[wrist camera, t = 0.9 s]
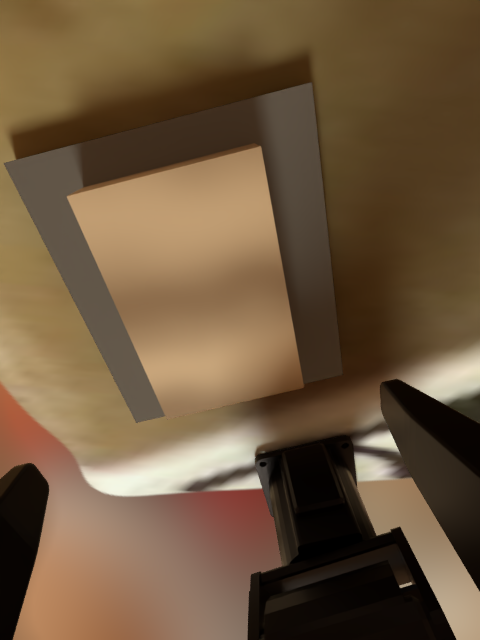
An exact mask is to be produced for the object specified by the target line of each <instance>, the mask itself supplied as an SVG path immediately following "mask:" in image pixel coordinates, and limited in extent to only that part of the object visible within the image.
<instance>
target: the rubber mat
mask: <svg viewBox="0 0 480 640" xmlns="http://www.w3.org/2000/svg"><path fill="white" fill-rule="evenodd" d="M253 143H255V144H257V145H259V146H261V149H262V154H263V160H264V165H265V171H266V177H267V182H268V188H269V193H270V199H271V205H272V210H273V216H274V221H275V227H276V233H277V238H278V244H279V249H280V255H281V261H282V266H283V272H284V277H285V283H286V289H287V294H288V300H289V305H290V311H291V317H292V322H293V328H294V333H295V339H296V345H297V350H298V356H299V361H300V367H301V373H302V378H303V384H306V383H310V382H314V381H318V380H323V379H327V378H331V377H336V376H340V375H343V369H342V360H341V350H340V341H339V331H338V322H337V313H336V303H335V294H334V285H333V275H332V266H331V256H330V247H329V238H328V228H327V219H326V209H325V200H324V191H323V181H322V172H321V163H320V153H319V144H318V134H317V125H316V116H315V106H314V97H313V87H312V82H310V83H307V84H303V85H299V86H295V87H291V88H288V89H284V90H280V91H276V92H272V93H268V94H265V95H261V96H257V97H253V98H249V99H246V100H242V101H238V102H234V103H230V104H227V105H223V106H219V107H215V108H211V109H208V110H204V111H200V112H196V113H192V114H189V115H185V116H181V117H177V118H173V119H170V120H166V121H162V122H158V123H154V124H151V125H147V126H143V127H139V128H135V129H132V130H128V131H124V132H120V133H116V134H113V135H109V136H105V137H101V138H97V139H94V140H90V141H86V142H82V143H78V144H75V145H71V146H67V147H63V148H59V149H56V150H52V151H48V152H44V153H40V154H37V155H33V156H29V157H25V158H21V159H18V160H14V161H10V162H6V163H4V165H5V167H6V169H7V171H8V173H9V175H10V177H11V179H12V180H13V182H14V184H15V186H16V188H17V190H18V192H19V194H20V196H21V198H22V200H23V202H24V204H25V206H26V208H27V210H28V212H29V214H30V216H31V218H32V220H33V222H34V224H35V225H36V227H37V229H38V231H39V233H40V235H41V237H42V239H43V241H44V243H45V245H46V247H47V249H48V251H49V253H50V255H51V257H52V259H53V261H54V263H55V265H56V267H57V269H58V271H59V272H60V274H61V276H62V278H63V280H64V282H65V284H66V286H67V288H68V290H69V292H70V294H71V296H72V298H73V300H74V302H75V304H76V306H77V308H78V310H79V312H80V314H81V316H82V317H83V319H84V321H85V323H86V325H87V327H88V329H89V331H90V333H91V335H92V337H93V339H94V341H95V343H96V345H97V347H98V349H99V351H100V353H101V355H102V357H103V359H104V361H105V362H106V364H107V366H108V368H109V370H110V372H111V374H112V376H113V378H114V380H115V382H116V384H117V386H118V388H119V390H120V392H121V394H122V396H123V398H124V400H125V402H126V404H127V406H128V407H129V409H130V411H131V413H132V415H133V417H134V419H135V421H136V423H138V422H142V421H146V420H151V419H155V418H159V417H164V416H165V414H164V412H163V410H162V408H161V405H160V403H159V401H158V399H157V396H156V394H155V392H154V390H153V388H152V385H151V383H150V381H149V379H148V376H147V374H146V372H145V370H144V368H143V365H142V363H141V361H140V359H139V356H138V354H137V352H136V350H135V348H134V345H133V343H132V341H131V339H130V336H129V334H128V332H127V330H126V328H125V325H124V323H123V321H122V319H121V316H120V314H119V312H118V310H117V308H116V305H115V303H114V301H113V299H112V296H111V294H110V292H109V290H108V288H107V285H106V283H105V281H104V279H103V276H102V274H101V272H100V270H99V268H98V265H97V263H96V261H95V259H94V256H93V254H92V252H91V250H90V248H89V245H88V243H87V241H86V239H85V236H84V234H83V232H82V230H81V228H80V225H79V223H78V221H77V219H76V216H75V214H74V212H73V210H72V208H71V205H70V203H69V201H68V199H67V196H68V195H70V194H72V193H74V192H76V191H77V190H79V189H81V188H83V187H86V186H90V185H94V184H98V183H102V182H106V181H110V180H114V179H117V178H121V177H125V176H129V175H133V174H137V173H141V172H144V171H148V170H152V169H156V168H160V167H164V166H168V165H172V164H175V163H179V162H183V161H187V160H191V159H195V158H199V157H203V156H206V155H210V154H214V153H218V152H222V151H226V150H230V149H234V148H237V147H241V146H245V145H249V144H253Z"/></svg>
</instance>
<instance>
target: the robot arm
mask: <svg viewBox="0 0 480 640" xmlns="http://www.w3.org/2000/svg"><path fill="white" fill-rule="evenodd" d="M380 398H381V410H382V414H383V416H384V419H385V421H386V423H387V425H388V427H389V430H390V432H391V434H392V436H393V438H394V441H395V443H396V445H397V447H398V449H399V452H400V454H401V456H402V458H403V460H404V463H405V465H406V467H407V469H408V471H409V473H410V475H411V476H412V478H413V480H414V482H415V484H416V485H417V487H418V489H419V490H420V492H421V494H422V495H423V497H424V499H425V500H426V502H427V504H428V505H429V507H430V509H431V510H432V512H433V514H434V515H435V517H436V519H437V521H438V522H439V524H440V526H441V527H442V529H443V530H444V532H445V534H446V536H447V537H448V539H449V541H450V542H451V544H452V546H453V547H454V549H455V551H456V552H457V554H458V556H459V557H460V559H461V561H462V563H463V564H464V566H465V567H466V569H467V571H468V573H469V574H470V576H471V578H472V579H473V581H474V583H475V584H476V586H477V588H478V589H479V591H480V423H478V422H476V421H474V420H473V419H471V418H469V417H467V416H465V415H463V414H461V413H460V412H458V411H456V410H454V409H452V408H450V407H449V406H447V405H445V404H443V403H441V402H439V401H438V400H436V399H434V398H432V397H430V396H428V395H426V394H425V393H423V392H421V391H419V390H417V389H415V388H414V387H412V386H410V385H408V384H406V383H404V382H402V381H401V380H398V379H394V380H389V381H385V382H382V383H381V385H380ZM255 465H256V469H257V472H258V475H259V478H260V482H261V485H262V488H263V491H264V494H265V498H266V501H267V504H268V507H269V511H270V514H271V516H272V517H274V521H275V527H276V532H277V539H278V545H279V550H280V556H281V561H282V567H279V568H276V569H272V570H269V571H266V572H263V573H261V572H257V573H254V574H251V584H250V591H249V611H248V640H456V638H455V636H454V633H453V631H452V629H451V627H450V625H449V623H448V621H447V619H446V617H445V615H444V612H443V611H442V608H441V606H440V605H439V603H438V601H437V598H436V596H435V594H434V592H433V591H432V589H431V587H430V585H429V583H428V581H427V579H426V577H425V575H424V573H423V571H422V569H421V567H420V565H419V563H418V561H417V559H416V557H415V555H414V553H413V551H412V549H411V547H410V545H409V543H408V541H407V540H406V538H405V536H404V534H403V532H402V530H401V528H400V527H397V528H393V529H391V532H388V533H384V534H381V535H378V536H376V533H375V531H374V528H373V526H372V523H371V521H370V519H369V516H368V514H367V511H366V509H365V506H364V504H363V502H362V499H361V497H360V494H359V492H358V489H357V481H356V471H355V461H354V452H353V444H352V441H351V439H350V437H348V436H340V437H335V438H331V439H327V440H322V441H318V442H313V443H309V444H304V445H300V446H296V447H291V448H287V449H282V450H278V451H273V452H269V453H265V454H260V455H258V456H257V457H256V458H255ZM48 495H49V485H48V482H47V481H46V479H45V478H44V477H43V475H42V474H41V473H40V471H39V470H38V469H37V467H36V466H35V465H34V464H32V463H27V464H22V465H18V466H15V467H14V468H12V469H11V470H10V471H9V472H8V473H6V475H4V476H3V477H2V478H1V479H0V640H13V637H14V633H15V630H16V626H17V623H18V619H19V616H20V612H21V608H22V605H23V602H24V598H25V595H26V591H27V588H28V584H29V581H30V577H31V574H32V571H33V567H34V564H35V560H36V556H37V552H38V547H39V542H40V537H41V532H42V527H43V521H44V516H45V510H46V505H47V500H48ZM409 582H411V583H412V585H410V586H406V587H403V588H400V587H399V585H402V584H406V583H409Z"/></svg>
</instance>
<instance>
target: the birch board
mask: <svg viewBox="0 0 480 640" xmlns="http://www.w3.org/2000/svg"><path fill="white" fill-rule="evenodd" d="M67 199H68V201H69V203H70V205H71V208H72V210H73V212H74V214H75V216H76V219H77V221H78V223H79V225H80V228H81V230H82V232H83V234H84V236H85V239H86V241H87V243H88V245H89V248H90V250H91V252H92V254H93V256H94V259H95V261H96V263H97V265H98V268H99V270H100V272H101V274H102V276H103V279H104V281H105V283H106V285H107V288H108V290H109V292H110V294H111V296H112V299H113V301H114V303H115V305H116V308H117V310H118V312H119V314H120V316H121V319H122V321H123V323H124V325H125V328H126V330H127V332H128V334H129V336H130V339H131V341H132V343H133V345H134V348H135V350H136V352H137V354H138V356H139V359H140V361H141V363H142V365H143V368H144V370H145V372H146V374H147V376H148V379H149V381H150V383H151V385H152V388H153V390H154V392H155V394H156V396H157V399H158V401H159V403H160V405H161V408H162V410H163V412H164V414H165V416H166V419H172V418H176V417H180V416H185V415H189V414H193V413H198V412H202V411H206V410H211V409H215V408H219V407H223V406H228V405H232V404H236V403H241V402H245V401H249V400H254V399H258V398H262V397H267V396H271V395H275V394H280V393H284V392H288V391H292V390H297V389H301V388H304V384H303V378H302V373H301V367H300V361H299V356H298V350H297V345H296V339H295V333H294V328H293V322H292V317H291V311H290V305H289V300H288V294H287V289H286V283H285V277H284V272H283V266H282V261H281V255H280V249H279V244H278V238H277V233H276V227H275V221H274V216H273V210H272V205H271V199H270V193H269V188H268V182H267V177H266V171H265V165H264V160H263V154H262V149H261V146H259V145H257V144H255V143H253V144H249V145H245V146H241V147H237V148H234V149H230V150H226V151H222V152H218V153H214V154H210V155H206V156H203V157H199V158H195V159H191V160H187V161H183V162H179V163H175V164H172V165H168V166H164V167H160V168H156V169H152V170H148V171H144V172H141V173H137V174H133V175H129V176H125V177H121V178H117V179H114V180H110V181H106V182H102V183H98V184H94V185H90V186H86V187H83V188H81V189H79V190H77V191H76V192H74V193H72V194H70V195H68V196H67Z"/></svg>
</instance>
